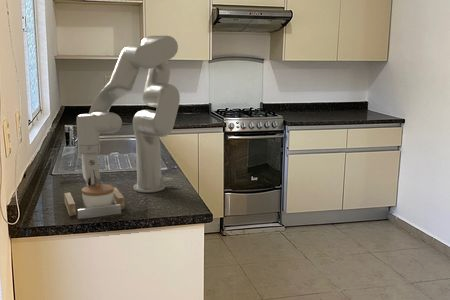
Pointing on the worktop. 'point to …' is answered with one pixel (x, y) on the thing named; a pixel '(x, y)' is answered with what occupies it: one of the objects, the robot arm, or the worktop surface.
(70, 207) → the rail far
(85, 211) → the rail
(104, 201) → the lidded jar
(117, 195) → the bar
